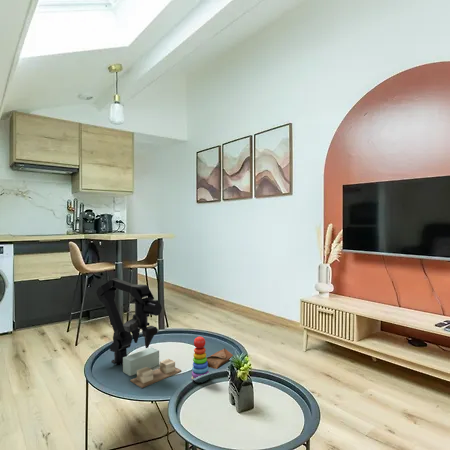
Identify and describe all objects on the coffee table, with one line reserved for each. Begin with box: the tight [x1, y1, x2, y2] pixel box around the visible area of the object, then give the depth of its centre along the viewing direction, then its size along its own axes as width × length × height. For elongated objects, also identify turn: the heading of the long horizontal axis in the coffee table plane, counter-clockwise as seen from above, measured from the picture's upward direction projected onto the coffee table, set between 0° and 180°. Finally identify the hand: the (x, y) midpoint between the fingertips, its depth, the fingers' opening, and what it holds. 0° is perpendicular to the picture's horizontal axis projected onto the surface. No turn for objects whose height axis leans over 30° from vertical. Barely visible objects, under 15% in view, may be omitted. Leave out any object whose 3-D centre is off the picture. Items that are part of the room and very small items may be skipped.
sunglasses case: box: [206, 347, 234, 370], centre depth 164 cm, size 18×7×7 cm
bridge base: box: [129, 358, 182, 389], centre depth 148 cm, size 9×21×5 cm, turn 137°
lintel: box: [122, 346, 160, 377], centre depth 156 cm, size 6×16×7 cm, turn 139°
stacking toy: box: [191, 336, 210, 380], centre depth 144 cm, size 8×8×19 cm
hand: (141, 345), depth 156 cm, fingers open, 9 cm apart
